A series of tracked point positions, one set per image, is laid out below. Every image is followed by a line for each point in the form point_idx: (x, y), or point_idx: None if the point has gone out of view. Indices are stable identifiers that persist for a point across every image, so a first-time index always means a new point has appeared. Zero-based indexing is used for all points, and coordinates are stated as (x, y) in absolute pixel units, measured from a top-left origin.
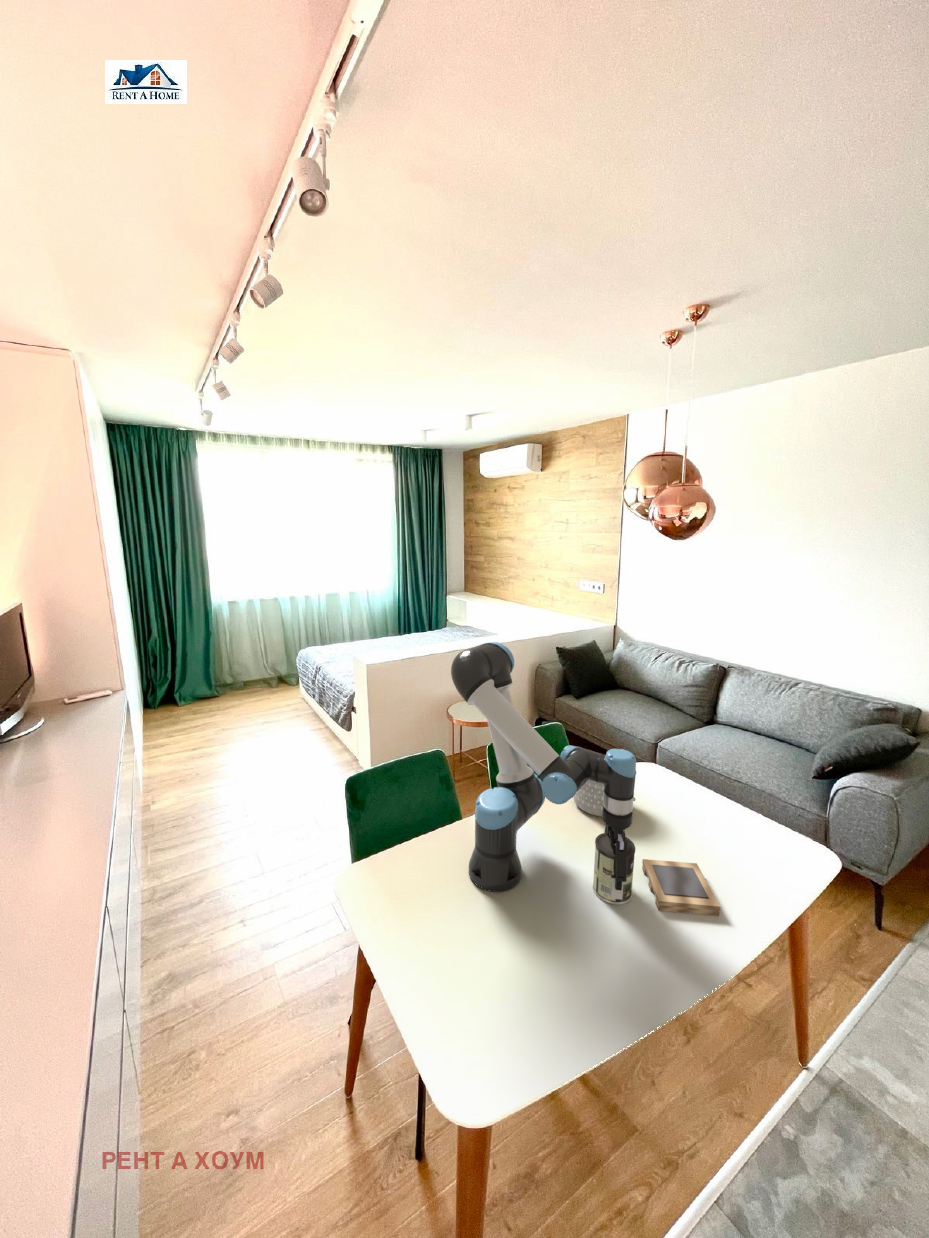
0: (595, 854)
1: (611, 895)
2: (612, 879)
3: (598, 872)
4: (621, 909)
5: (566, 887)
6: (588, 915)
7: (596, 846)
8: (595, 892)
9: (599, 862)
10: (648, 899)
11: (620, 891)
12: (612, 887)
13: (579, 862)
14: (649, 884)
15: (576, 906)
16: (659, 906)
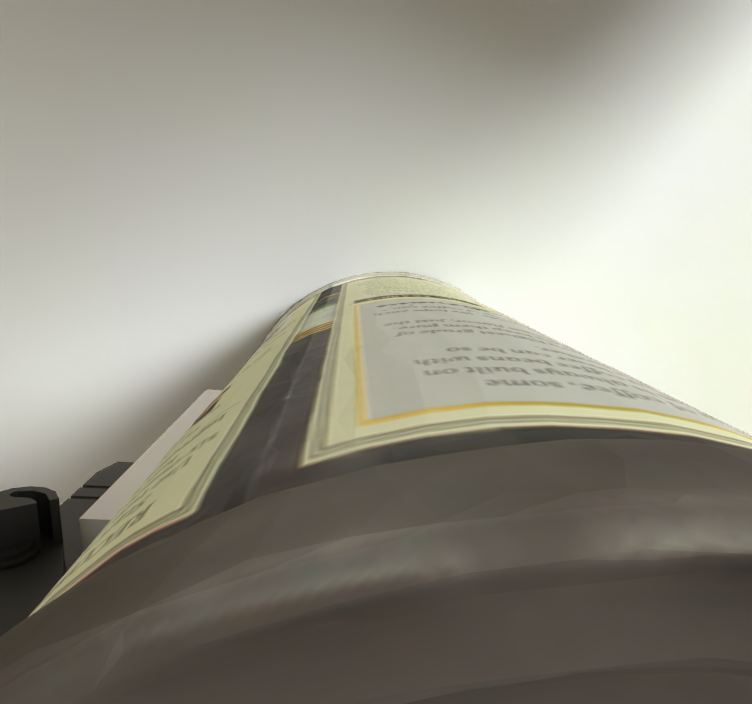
0: (475, 345)
1: (207, 397)
2: (135, 480)
3: (307, 326)
4: None
5: (408, 29)
6: (103, 166)
7: (453, 473)
8: (348, 281)
9: (268, 377)
10: None
11: None
12: (161, 436)
13: (708, 225)
14: None
15: (187, 79)
16: None
